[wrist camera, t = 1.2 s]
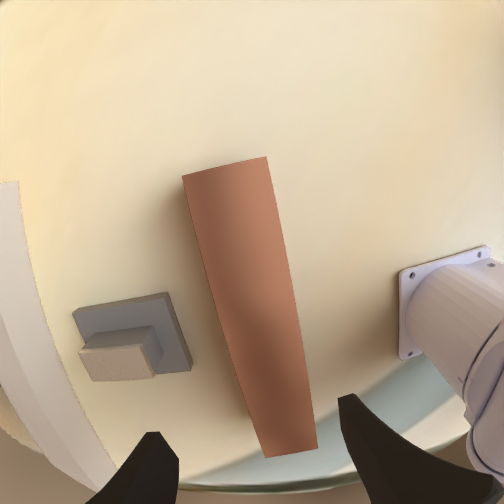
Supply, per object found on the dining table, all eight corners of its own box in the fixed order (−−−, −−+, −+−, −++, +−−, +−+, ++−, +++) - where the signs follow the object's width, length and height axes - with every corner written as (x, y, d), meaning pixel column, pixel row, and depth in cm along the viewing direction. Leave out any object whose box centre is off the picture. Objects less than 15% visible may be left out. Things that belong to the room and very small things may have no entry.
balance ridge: (167, 291, 20) (151, 318, 16) (193, 362, 21) (183, 396, 18) (78, 308, 20) (52, 332, 16) (106, 370, 22) (88, 399, 18)
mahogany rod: (261, 160, 18) (266, 156, 13) (308, 405, 23) (318, 448, 18) (199, 175, 18) (181, 175, 13) (262, 414, 23) (265, 457, 18)
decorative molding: (70, 444, 29) (123, 472, 27) (52, 464, 25) (104, 496, 22) (-18, 195, 21) (23, 179, 18) (-53, 204, 16) (-25, 188, 14)
